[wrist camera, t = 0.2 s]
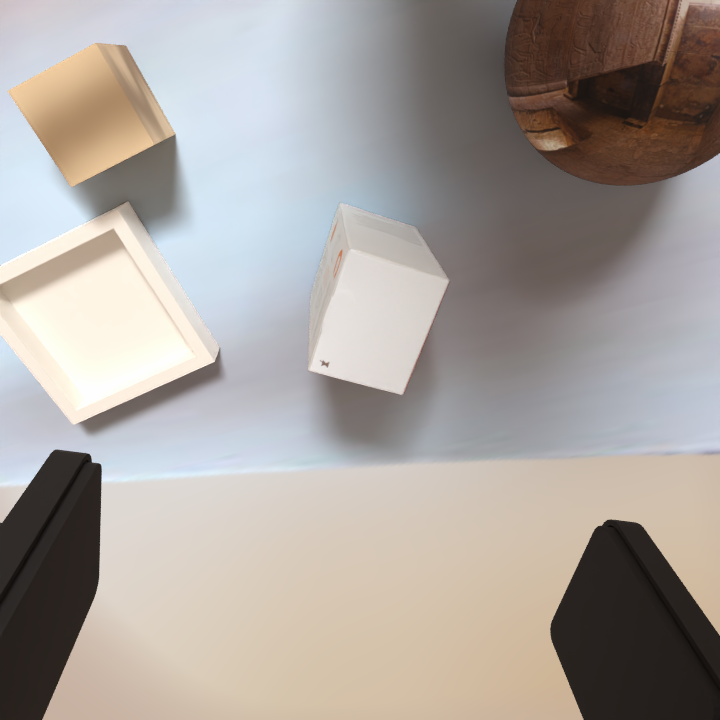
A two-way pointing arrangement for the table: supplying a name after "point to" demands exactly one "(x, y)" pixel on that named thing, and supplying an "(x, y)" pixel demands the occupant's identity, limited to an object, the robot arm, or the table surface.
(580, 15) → the wooden sphere
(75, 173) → the cube
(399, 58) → the table surface
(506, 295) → the table surface
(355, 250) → the small box
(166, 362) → the tray
